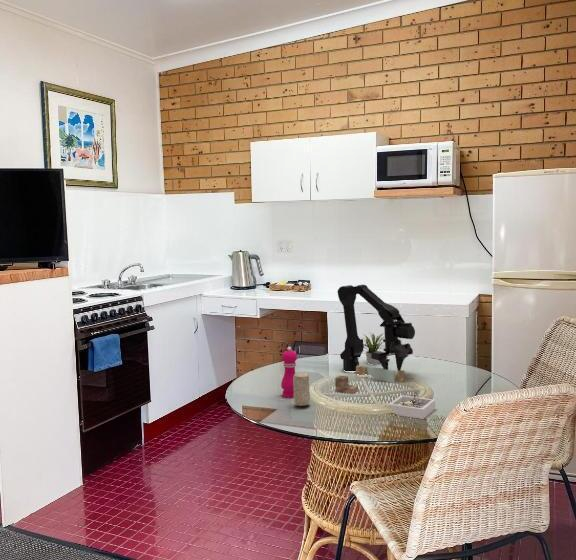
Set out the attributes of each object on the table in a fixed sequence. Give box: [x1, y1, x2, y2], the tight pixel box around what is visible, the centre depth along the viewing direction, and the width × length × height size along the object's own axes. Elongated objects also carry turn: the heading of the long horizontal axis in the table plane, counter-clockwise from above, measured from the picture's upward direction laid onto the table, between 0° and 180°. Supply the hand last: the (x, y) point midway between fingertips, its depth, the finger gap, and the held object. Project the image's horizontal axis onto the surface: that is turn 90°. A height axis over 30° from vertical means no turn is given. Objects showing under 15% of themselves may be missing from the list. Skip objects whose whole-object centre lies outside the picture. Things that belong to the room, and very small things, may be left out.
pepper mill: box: [280, 346, 298, 399], centre depth 247 cm, size 7×7×20 cm
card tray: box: [387, 394, 436, 420], centre depth 224 cm, size 13×13×4 cm
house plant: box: [362, 332, 385, 365], centre depth 296 cm, size 14×14×16 cm
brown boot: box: [334, 375, 359, 395], centre depth 251 cm, size 8×4×6 cm, turn 56°
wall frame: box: [355, 365, 405, 383], centre depth 267 cm, size 22×2×6 cm, turn 58°
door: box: [366, 365, 396, 384], centre depth 265 cm, size 14×1×6 cm, turn 49°
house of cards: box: [410, 390, 424, 408], centre depth 225 cm, size 9×9×8 cm
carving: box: [293, 372, 311, 407], centre depth 234 cm, size 6×8×12 cm
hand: (393, 372), depth 267 cm, fingers open, 6 cm apart
